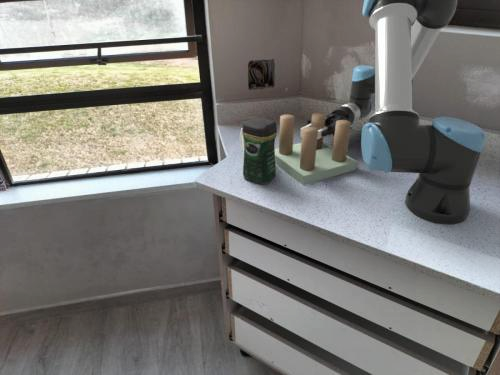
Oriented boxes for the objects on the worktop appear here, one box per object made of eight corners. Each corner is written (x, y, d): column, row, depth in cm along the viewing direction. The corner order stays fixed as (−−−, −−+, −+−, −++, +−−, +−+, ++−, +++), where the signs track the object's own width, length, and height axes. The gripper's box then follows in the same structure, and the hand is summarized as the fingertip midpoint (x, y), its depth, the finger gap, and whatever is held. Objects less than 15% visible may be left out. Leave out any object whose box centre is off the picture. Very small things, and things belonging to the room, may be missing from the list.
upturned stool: (356, 169, 115) (363, 124, 107) (302, 185, 107) (306, 137, 99) (317, 146, 130) (321, 105, 122) (268, 158, 122) (269, 115, 114)
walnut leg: (324, 150, 124) (328, 116, 118) (314, 153, 122) (317, 118, 116) (316, 145, 127) (320, 112, 121) (306, 148, 125) (309, 114, 119)
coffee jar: (279, 177, 111) (282, 118, 102) (264, 187, 106) (265, 126, 96) (254, 168, 116) (254, 111, 107) (238, 178, 111) (237, 119, 101)
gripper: (365, 131, 129) (330, 152, 114) (323, 120, 139) (285, 138, 125) (369, 111, 125) (332, 130, 111) (325, 100, 136) (286, 117, 121)
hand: (307, 134), depth 118 cm, fingers closed on walnut leg, 4 cm apart
